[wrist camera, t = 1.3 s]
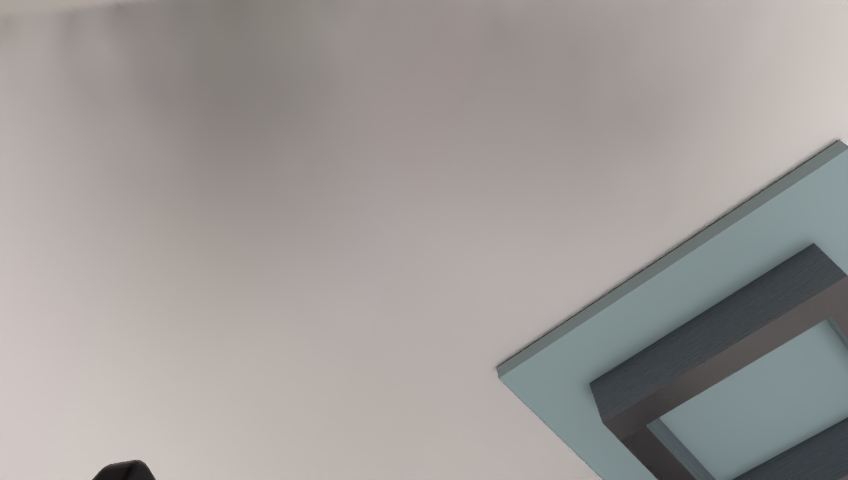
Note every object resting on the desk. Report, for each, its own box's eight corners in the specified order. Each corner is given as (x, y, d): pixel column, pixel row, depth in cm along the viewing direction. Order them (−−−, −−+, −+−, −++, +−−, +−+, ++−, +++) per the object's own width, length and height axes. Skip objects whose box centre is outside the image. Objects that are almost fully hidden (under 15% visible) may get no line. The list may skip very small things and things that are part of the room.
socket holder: (993, 394, 26) (1049, 445, 24) (685, 552, 30) (708, 610, 28) (839, 140, 22) (890, 173, 19) (496, 367, 25) (505, 418, 23)
